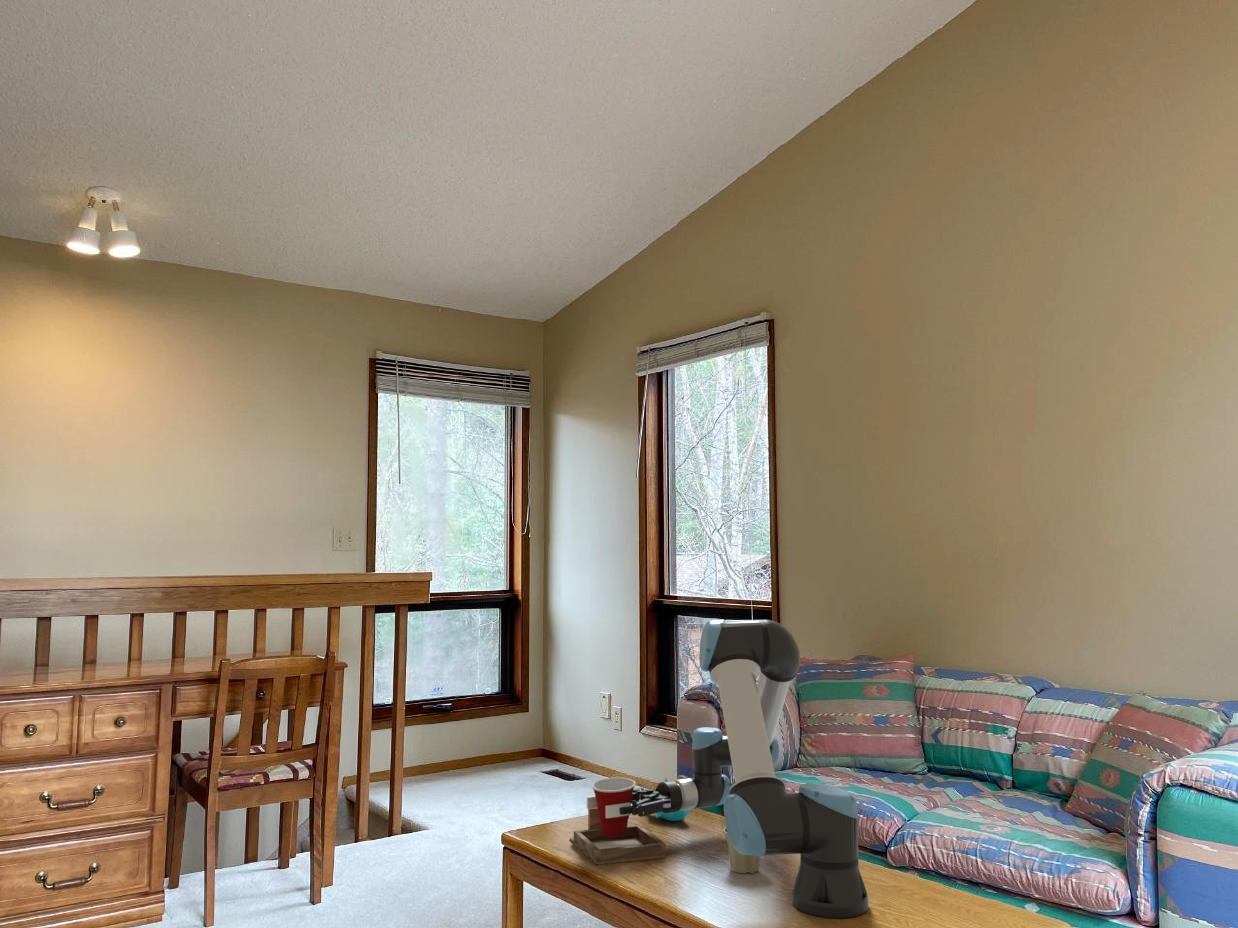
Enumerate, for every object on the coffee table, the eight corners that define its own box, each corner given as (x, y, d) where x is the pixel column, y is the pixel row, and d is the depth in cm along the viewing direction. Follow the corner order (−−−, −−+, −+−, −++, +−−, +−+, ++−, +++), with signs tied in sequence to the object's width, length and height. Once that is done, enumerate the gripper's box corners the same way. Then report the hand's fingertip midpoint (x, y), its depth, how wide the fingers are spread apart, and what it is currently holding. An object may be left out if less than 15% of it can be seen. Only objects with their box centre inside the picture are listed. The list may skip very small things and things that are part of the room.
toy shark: (673, 828, 251) (673, 786, 252) (631, 813, 265) (631, 773, 266) (701, 822, 256) (701, 781, 258) (658, 808, 271) (658, 769, 272)
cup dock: (665, 856, 226) (665, 824, 227) (596, 864, 221) (596, 830, 221) (634, 833, 246) (634, 803, 247) (569, 839, 240) (569, 808, 241)
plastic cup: (581, 833, 231) (581, 782, 233) (612, 824, 239) (612, 774, 240) (614, 842, 224) (614, 789, 225) (645, 832, 232) (645, 781, 233)
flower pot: (764, 877, 212) (763, 837, 213) (721, 874, 214) (721, 834, 215) (766, 864, 221) (766, 825, 222) (725, 861, 223) (725, 823, 224)
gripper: (700, 821, 231) (619, 834, 220) (652, 801, 250) (575, 812, 239) (700, 789, 232) (619, 801, 221) (652, 771, 251) (576, 781, 240)
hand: (596, 807), depth 230 cm, fingers closed on plastic cup, 9 cm apart
